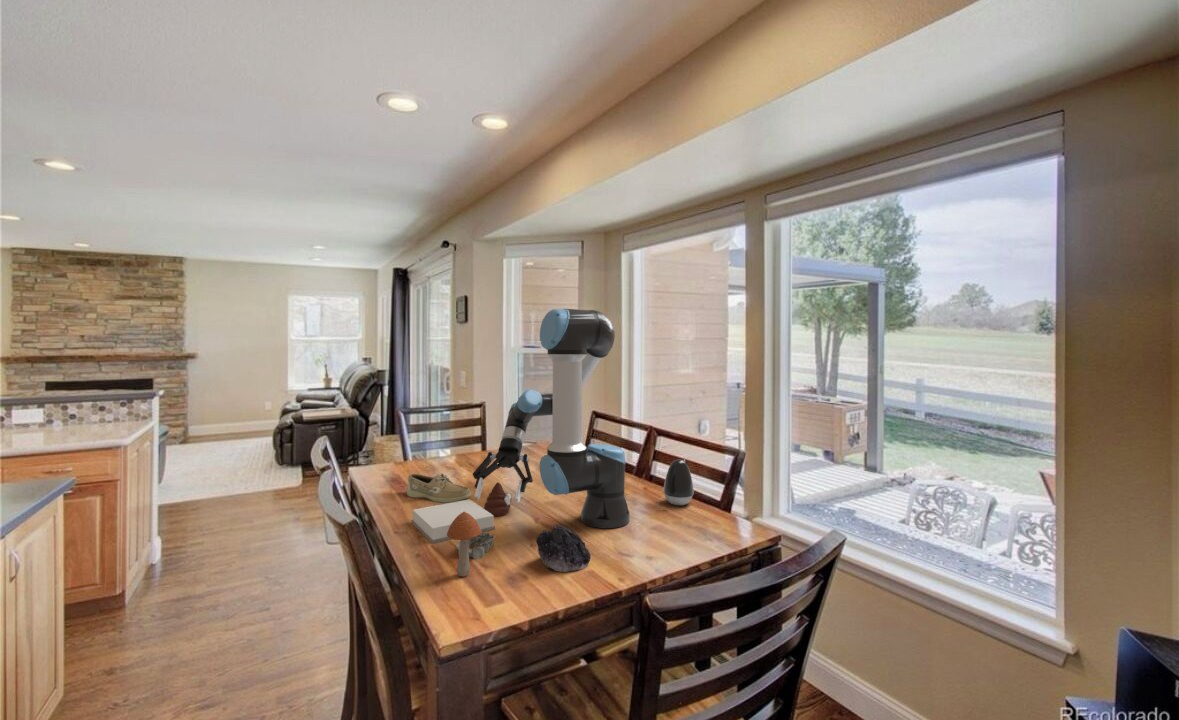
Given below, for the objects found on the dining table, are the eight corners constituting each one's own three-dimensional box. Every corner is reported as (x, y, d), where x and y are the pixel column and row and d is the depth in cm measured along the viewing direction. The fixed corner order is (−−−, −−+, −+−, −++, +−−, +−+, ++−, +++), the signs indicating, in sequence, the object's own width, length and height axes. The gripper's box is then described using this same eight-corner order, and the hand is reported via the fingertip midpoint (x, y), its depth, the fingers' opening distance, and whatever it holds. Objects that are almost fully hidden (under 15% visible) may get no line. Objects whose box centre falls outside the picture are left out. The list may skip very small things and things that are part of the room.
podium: (495, 529, 150) (495, 515, 149) (432, 543, 139) (432, 528, 139) (470, 511, 165) (470, 498, 164) (411, 522, 154) (411, 509, 154)
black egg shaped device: (697, 501, 178) (698, 458, 177) (686, 510, 169) (687, 464, 168) (670, 496, 183) (671, 454, 182) (658, 504, 174) (659, 460, 174)
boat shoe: (475, 498, 178) (475, 475, 178) (461, 506, 170) (461, 482, 170) (417, 490, 187) (417, 468, 186) (400, 497, 178) (400, 474, 178)
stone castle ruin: (480, 561, 129) (480, 545, 129) (453, 558, 131) (453, 542, 130) (497, 544, 139) (497, 529, 139) (472, 541, 141) (472, 527, 141)
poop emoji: (485, 507, 169) (485, 479, 169) (511, 506, 170) (512, 478, 170) (482, 517, 159) (482, 488, 159) (510, 517, 160) (510, 487, 160)
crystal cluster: (596, 556, 134) (594, 518, 135) (585, 575, 121) (583, 532, 121) (547, 555, 137) (546, 517, 137) (531, 573, 124) (529, 531, 124)
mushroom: (469, 563, 127) (470, 503, 126) (487, 574, 121) (488, 512, 121) (440, 573, 121) (440, 511, 121) (457, 585, 116) (457, 520, 115)
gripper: (548, 450, 177) (536, 507, 163) (480, 447, 181) (463, 502, 167) (544, 438, 172) (532, 496, 158) (474, 434, 176) (456, 491, 162)
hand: (496, 499), depth 162 cm, fingers open, 13 cm apart
